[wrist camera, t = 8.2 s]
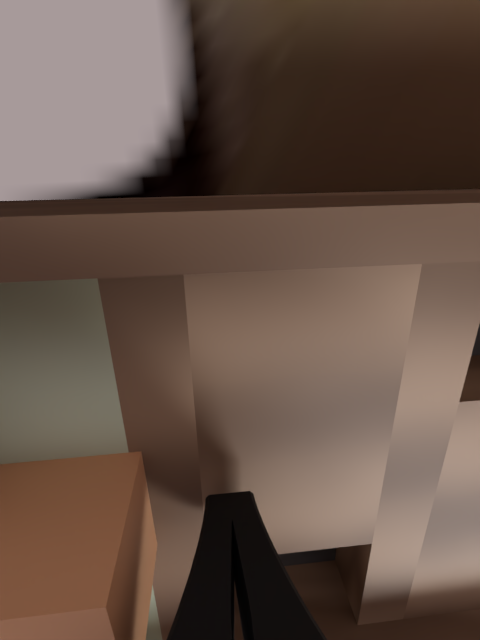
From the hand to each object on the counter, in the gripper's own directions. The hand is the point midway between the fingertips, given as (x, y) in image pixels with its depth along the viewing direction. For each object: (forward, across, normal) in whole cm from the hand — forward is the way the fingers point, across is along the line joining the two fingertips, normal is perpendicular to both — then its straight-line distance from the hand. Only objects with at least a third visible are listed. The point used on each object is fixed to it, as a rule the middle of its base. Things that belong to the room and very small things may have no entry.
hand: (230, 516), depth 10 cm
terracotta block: (+1, +4, 0) cm, 5 cm away
